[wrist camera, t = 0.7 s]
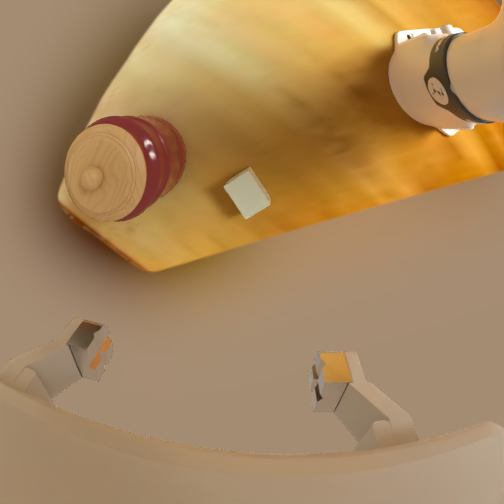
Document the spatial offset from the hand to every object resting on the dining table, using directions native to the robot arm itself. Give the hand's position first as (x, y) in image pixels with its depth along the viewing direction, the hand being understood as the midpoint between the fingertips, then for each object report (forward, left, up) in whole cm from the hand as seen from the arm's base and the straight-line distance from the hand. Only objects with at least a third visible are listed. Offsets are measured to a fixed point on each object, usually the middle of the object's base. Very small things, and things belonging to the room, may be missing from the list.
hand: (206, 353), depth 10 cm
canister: (+11, -12, -35) cm, 39 cm away
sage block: (+1, +1, -35) cm, 35 cm away
